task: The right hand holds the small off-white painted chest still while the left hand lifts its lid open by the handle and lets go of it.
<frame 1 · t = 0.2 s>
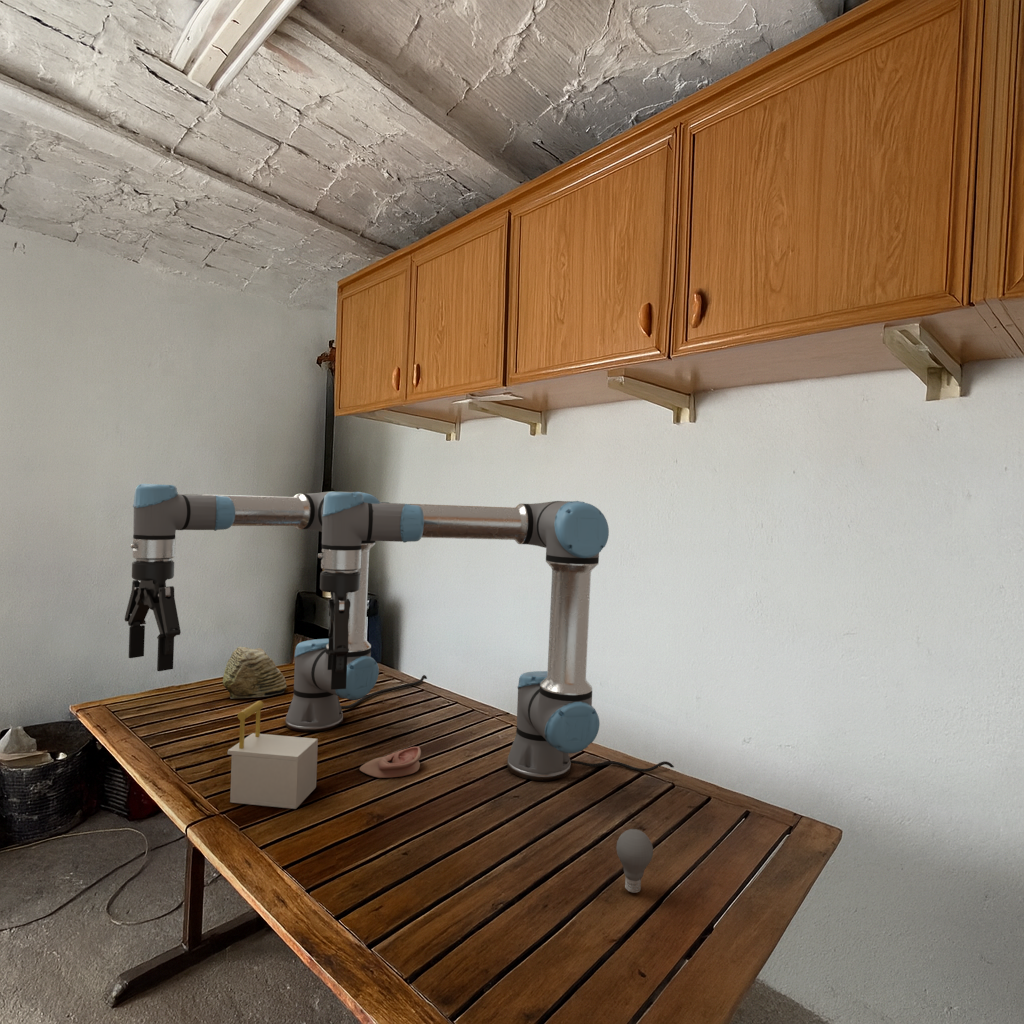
left hand: (150, 663, 129), 28 cm above the table, tool pointing down, fingers open, 13 cm apart
right hand: (336, 678, 124), 28 cm above the table, tool pointing down, fingers open, 13 cm apart
anatomical model: (390, 768, 149), on the table
chest: (274, 794, 134), on the table
fossil: (254, 694, 198), on the table
light bulb: (632, 891, 106), on the table
lid: (274, 728, 134), point 14 cm above the table, hinge at 0.0°
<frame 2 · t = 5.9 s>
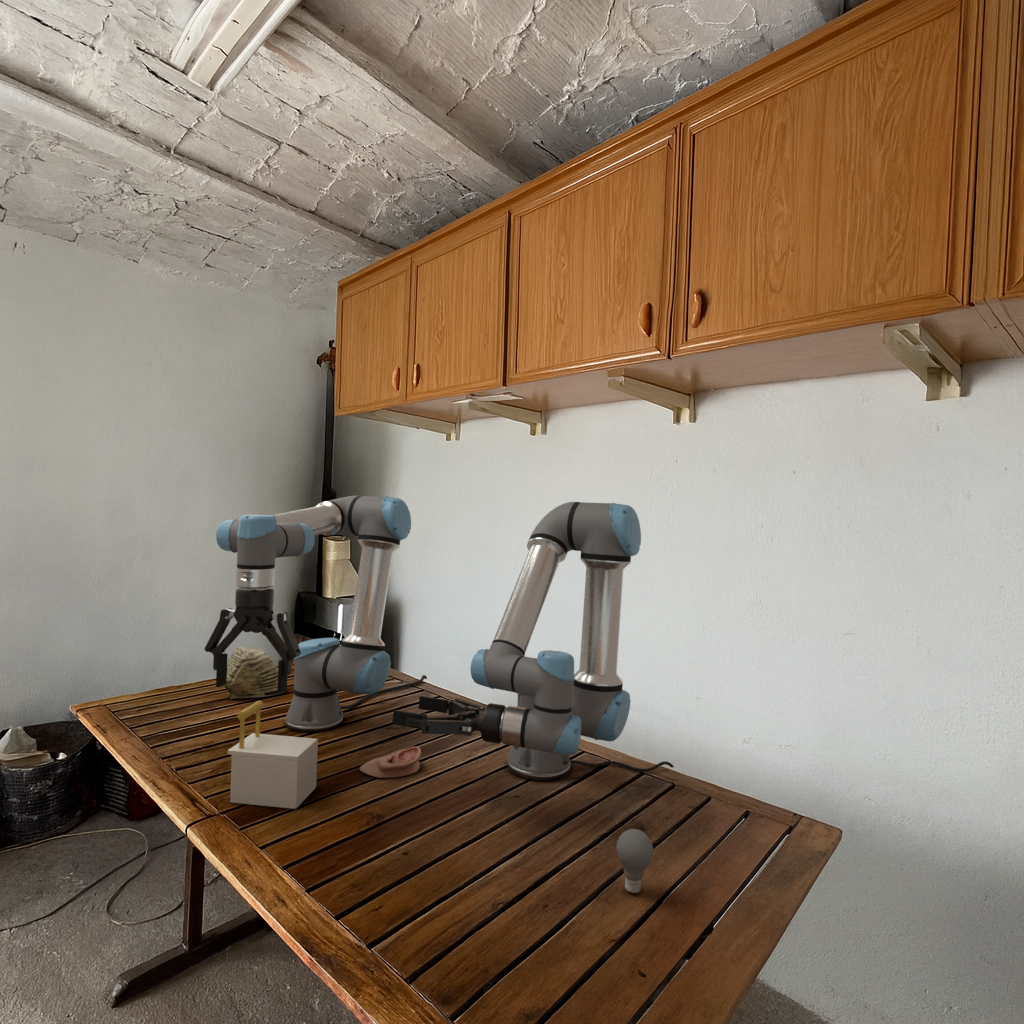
left hand: (251, 687, 134), 22 cm above the table, tool pointing down, fingers open, 13 cm apart
right hand: (407, 709, 134), 19 cm above the table, tool horizontal, fingers open, 13 cm apart
nothing on the table moved.
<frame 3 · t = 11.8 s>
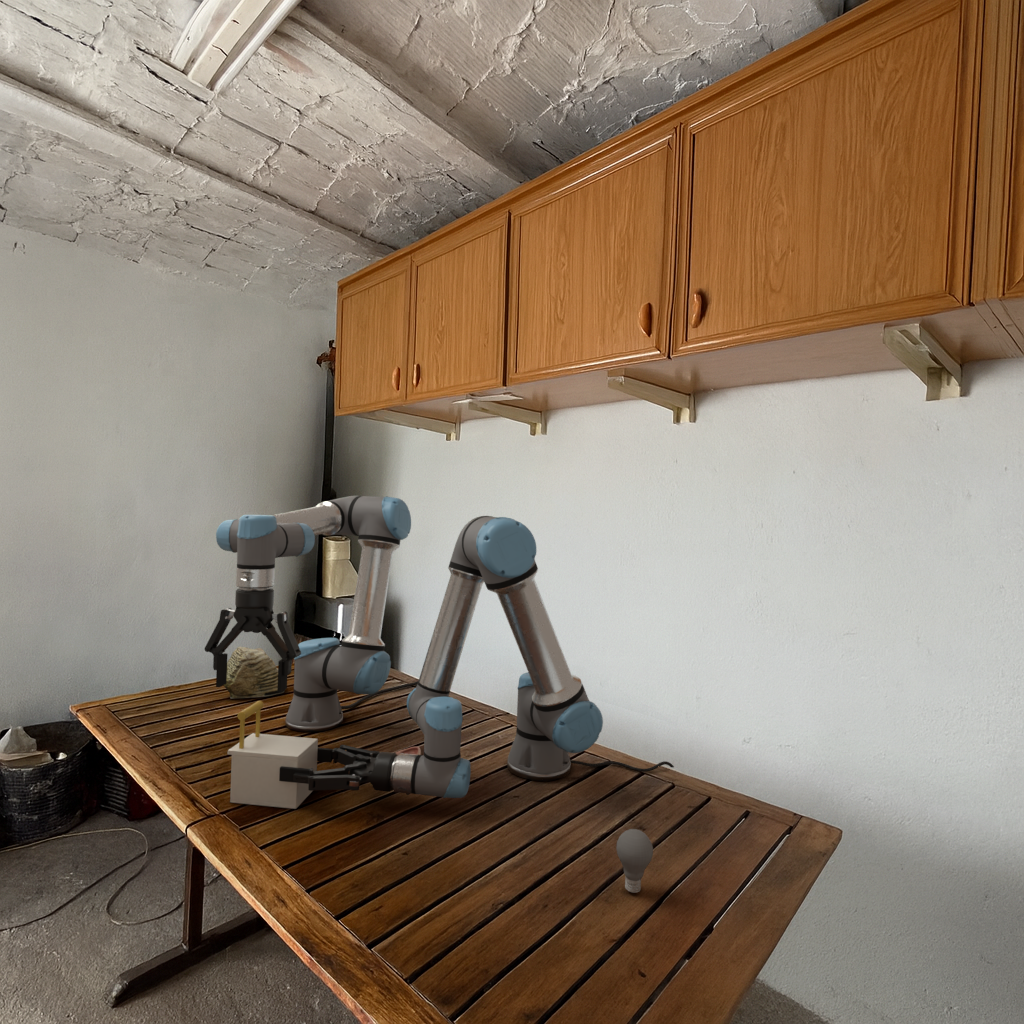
left hand: (251, 687, 134), 22 cm above the table, tool pointing down, fingers open, 13 cm apart
right hand: (292, 762, 133), 7 cm above the table, tool horizontal, fingers closed on chest, 10 cm apart
chest: (274, 794, 134), on the table, touching right hand
everything else where it was.
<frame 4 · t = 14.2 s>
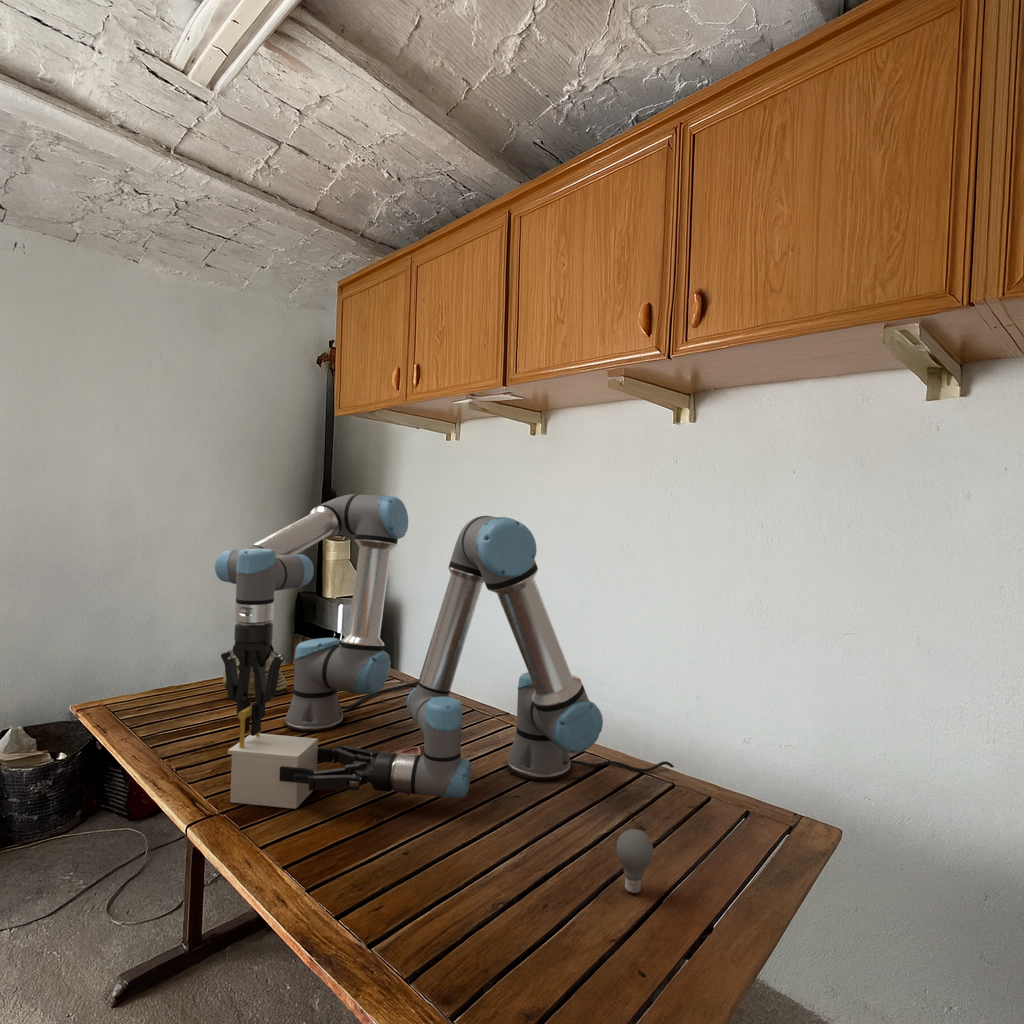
left hand: (250, 732, 134), 13 cm above the table, tool pointing down, fingers closed on lid, 2 cm apart
right hand: (292, 762, 133), 7 cm above the table, tool horizontal, fingers closed on chest, 10 cm apart
chest: (274, 794, 134), on the table, touching right hand
lid: (274, 728, 134), point 14 cm above the table, hinge at 0.2°, touching left hand
everything else where it was.
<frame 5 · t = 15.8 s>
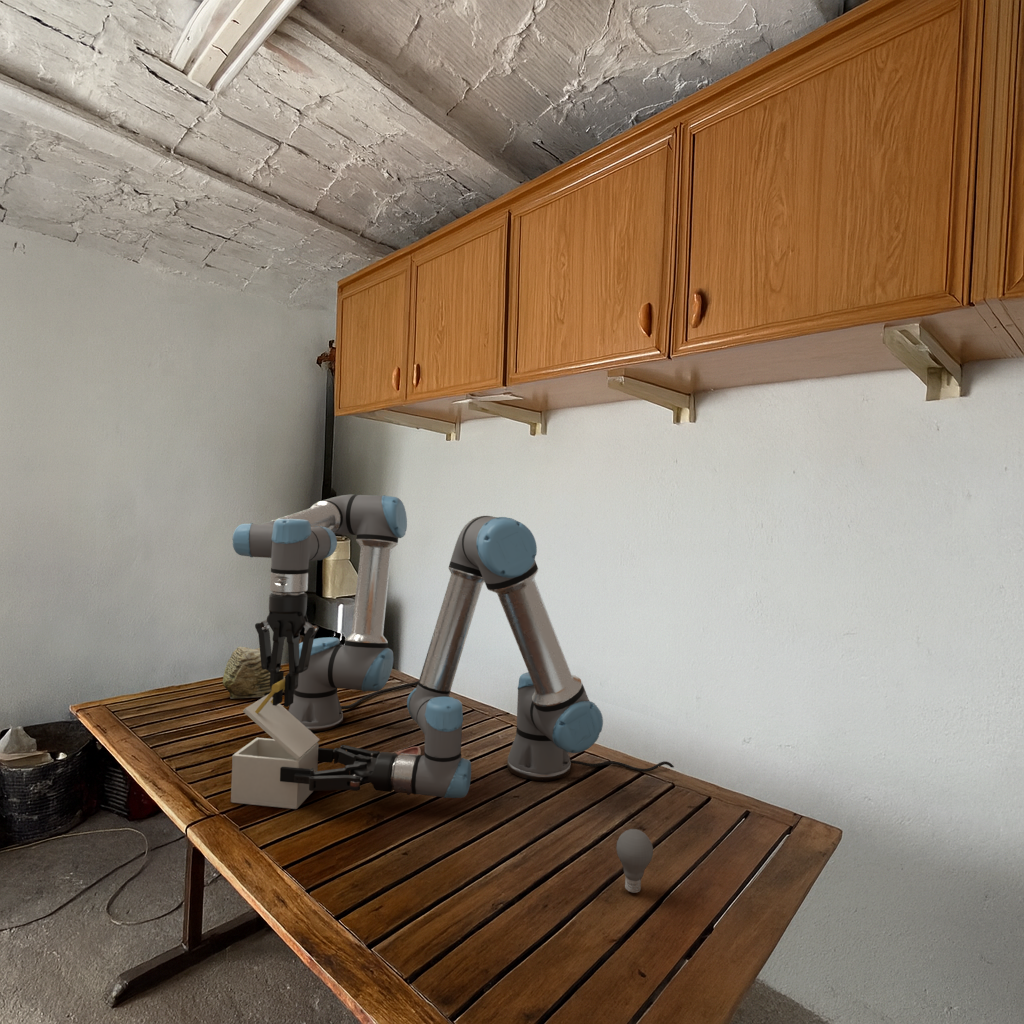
left hand: (283, 703, 133), 19 cm above the table, tool pointing down, fingers closed on lid, 2 cm apart
right hand: (292, 763, 133), 7 cm above the table, tool horizontal, fingers closed on chest, 10 cm apart
chest: (275, 794, 134), on the table, touching right hand
lid: (293, 712, 133), point 18 cm above the table, hinge at 36.9°, touching left hand
everything else where it was.
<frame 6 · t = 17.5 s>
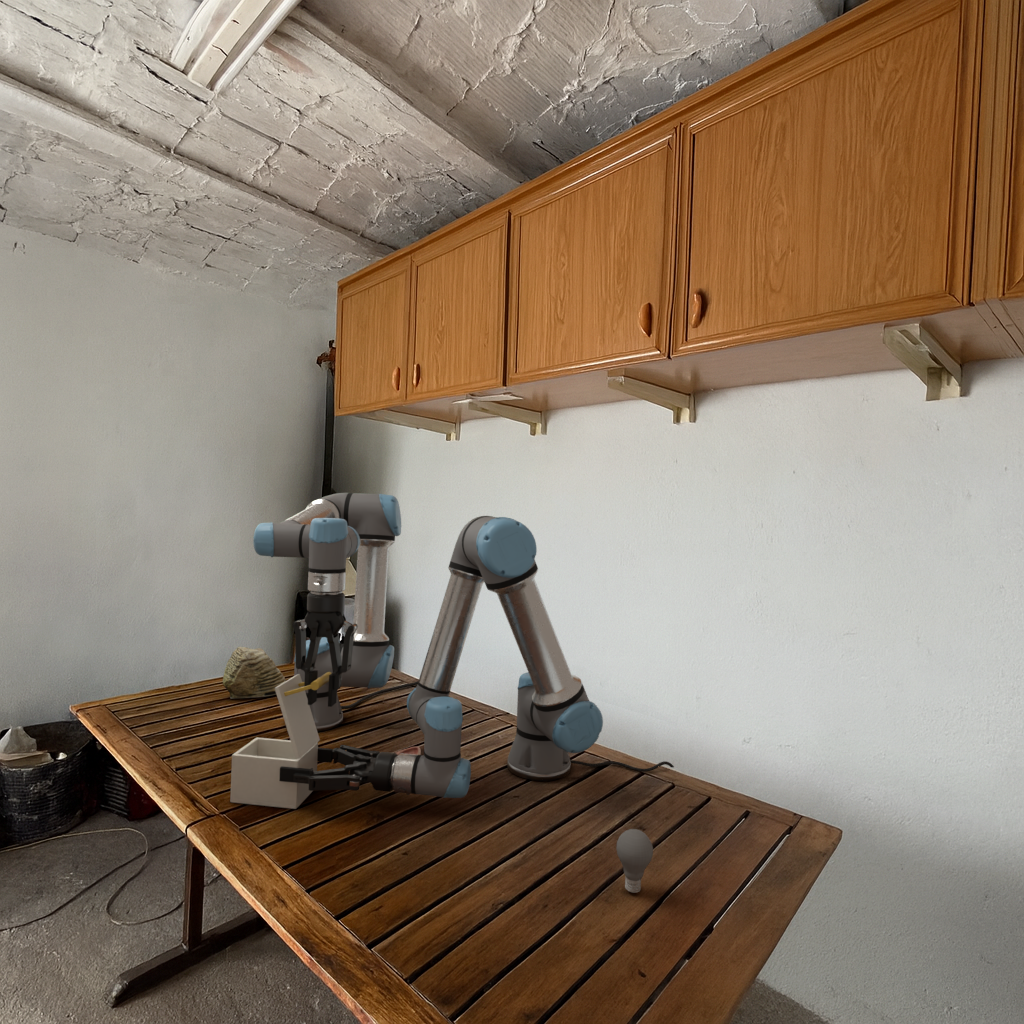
left hand: (322, 703, 132), 20 cm above the table, tool pointing down, fingers open, 4 cm apart
right hand: (292, 763, 133), 7 cm above the table, tool horizontal, fingers closed on chest, 10 cm apart
chest: (274, 794, 134), on the table, touching right hand
lid: (314, 710, 133), point 19 cm above the table, hinge at 69.8°
everything else where it was.
when the right hand's fingers open (7 cm above the table, at t = 21.8 s): chest stays where it is, on the table.
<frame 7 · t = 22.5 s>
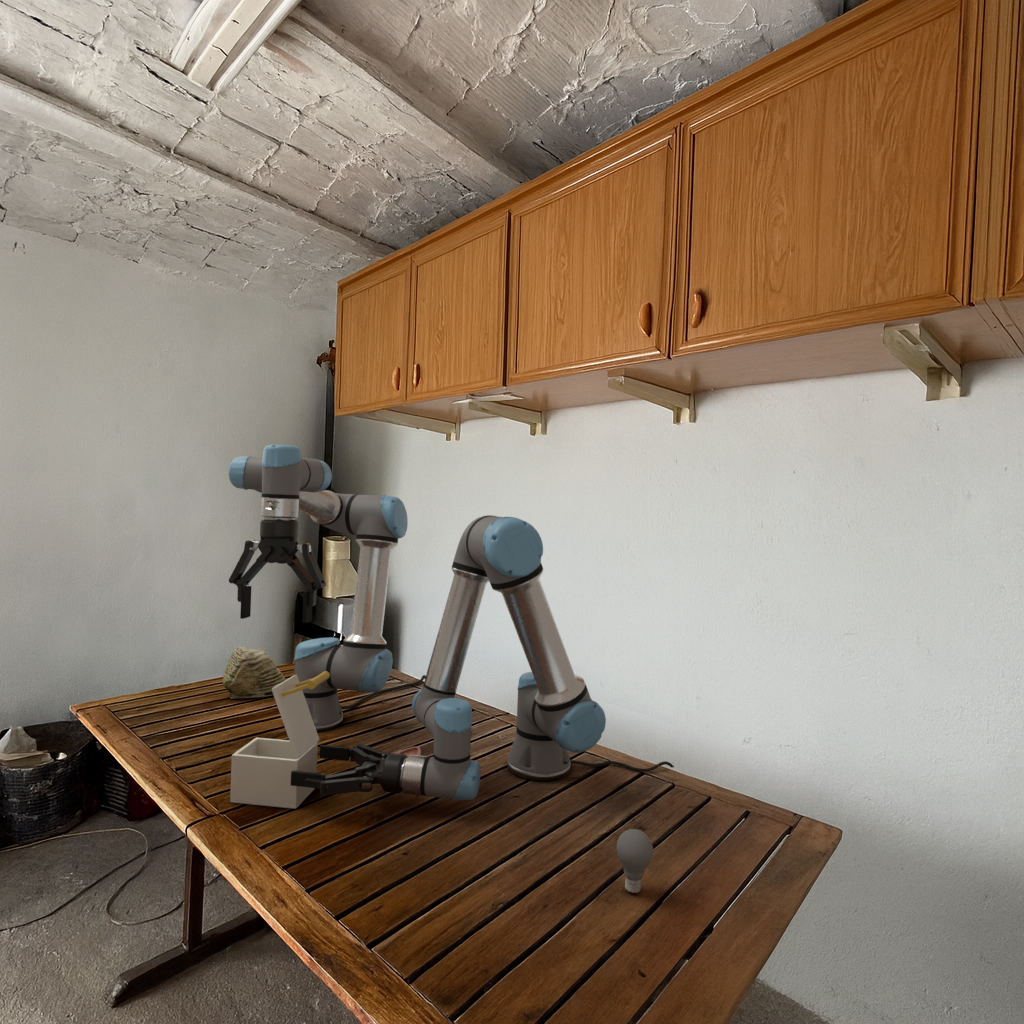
left hand: (275, 619, 133), 37 cm above the table, tool pointing down, fingers open, 13 cm apart
right hand: (306, 764, 133), 7 cm above the table, tool horizontal, fingers open, 13 cm apart
chest: (274, 794, 134), on the table
lid: (312, 709, 133), point 19 cm above the table, hinge at 67.5°
everything else where it was.
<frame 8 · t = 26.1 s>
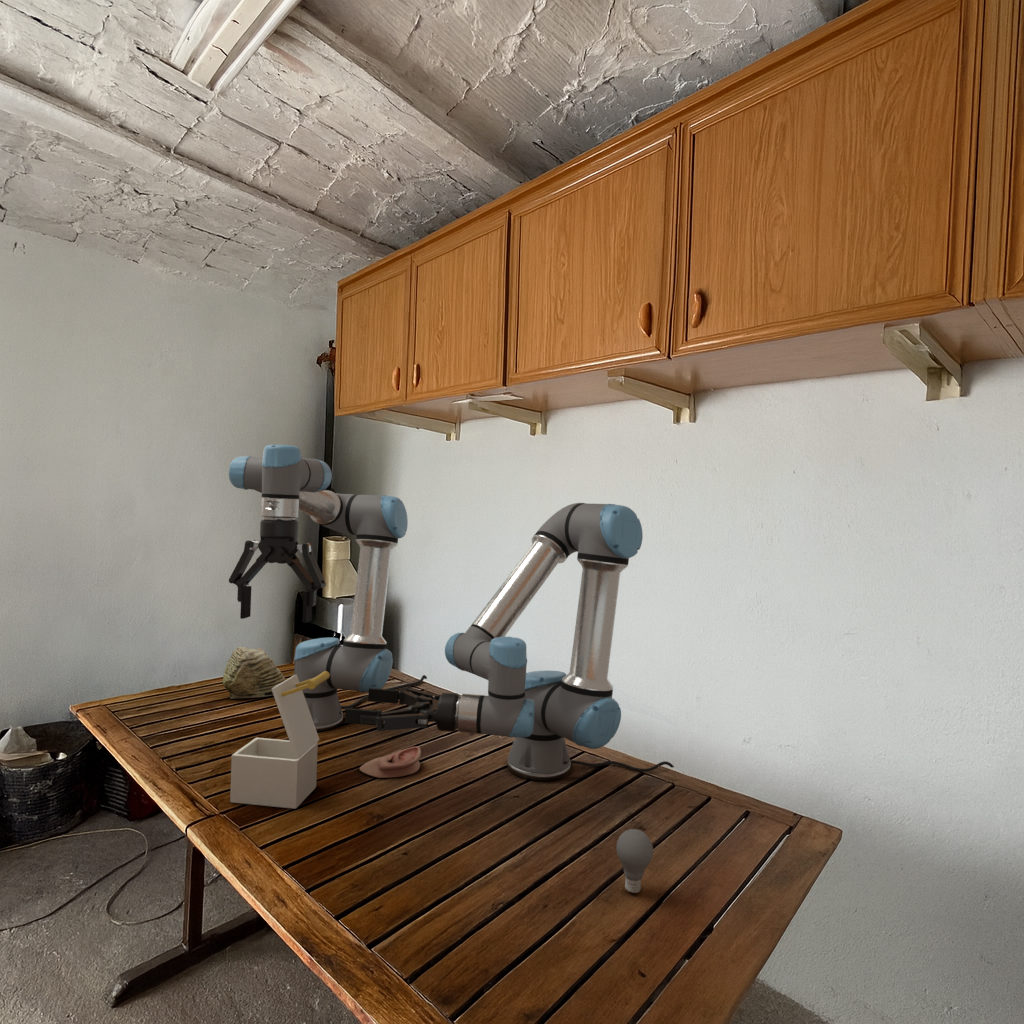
left hand: (275, 619, 133), 37 cm above the table, tool pointing down, fingers open, 13 cm apart
right hand: (357, 704, 132), 21 cm above the table, tool horizontal, fingers open, 13 cm apart
nothing on the table moved.
at the end: lid at +68° (first picture: +0°); the left hand is holding nothing; the right hand is holding nothing; chest tilted 0°; chest never tilted more than 1° during the clip; chest moved 0.1 cm from its start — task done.
